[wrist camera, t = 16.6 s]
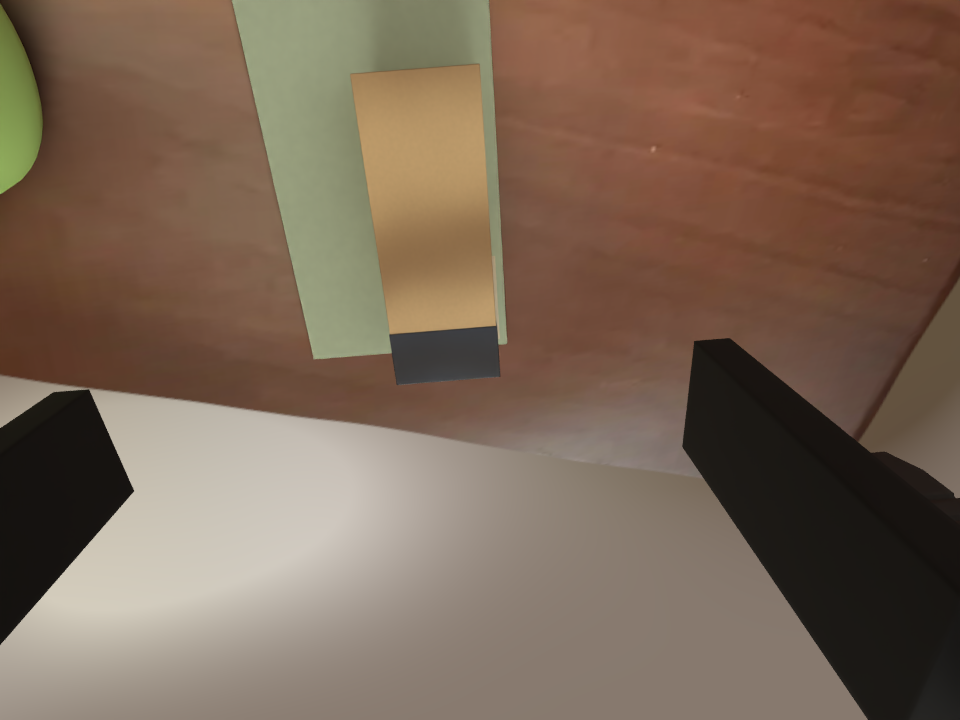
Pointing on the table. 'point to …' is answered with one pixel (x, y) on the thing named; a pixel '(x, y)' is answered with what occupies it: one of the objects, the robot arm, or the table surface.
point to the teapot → (17, 108)
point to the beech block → (431, 218)
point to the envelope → (350, 142)
